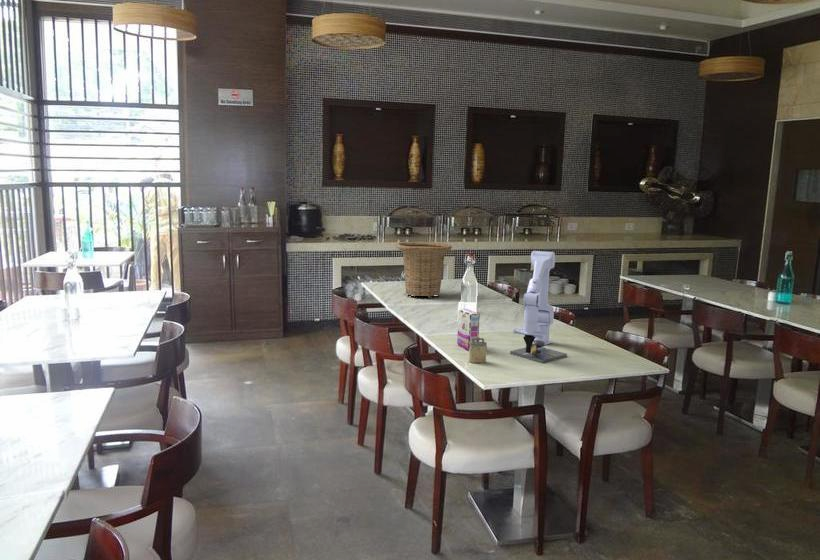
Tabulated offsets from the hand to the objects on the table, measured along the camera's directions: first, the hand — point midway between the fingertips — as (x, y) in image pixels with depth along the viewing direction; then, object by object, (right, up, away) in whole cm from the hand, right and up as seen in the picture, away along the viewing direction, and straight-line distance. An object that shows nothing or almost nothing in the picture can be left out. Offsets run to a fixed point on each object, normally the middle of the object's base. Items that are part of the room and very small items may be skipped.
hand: (528, 352), depth 260 cm
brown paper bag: (-23, -3, -8) cm, 24 cm away
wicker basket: (-42, +20, +136) cm, 144 cm away
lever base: (+5, -2, +4) cm, 7 cm away
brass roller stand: (+3, 0, +3) cm, 5 cm away
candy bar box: (-25, 0, +13) cm, 28 cm away
